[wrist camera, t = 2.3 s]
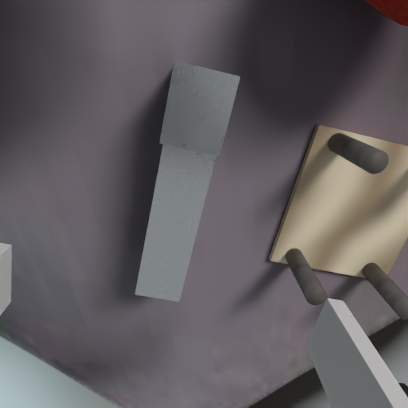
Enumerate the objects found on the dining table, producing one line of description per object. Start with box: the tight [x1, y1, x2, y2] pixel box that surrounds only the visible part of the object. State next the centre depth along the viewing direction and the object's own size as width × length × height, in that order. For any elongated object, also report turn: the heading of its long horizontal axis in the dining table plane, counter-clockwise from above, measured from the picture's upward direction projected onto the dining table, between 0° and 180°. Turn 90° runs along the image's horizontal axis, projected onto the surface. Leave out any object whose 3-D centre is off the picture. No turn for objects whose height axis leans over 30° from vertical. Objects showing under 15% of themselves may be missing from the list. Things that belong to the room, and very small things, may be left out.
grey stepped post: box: [135, 60, 240, 302], centre depth 25 cm, size 17×4×6 cm, turn 167°
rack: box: [269, 124, 408, 320], centre depth 27 cm, size 12×13×7 cm
